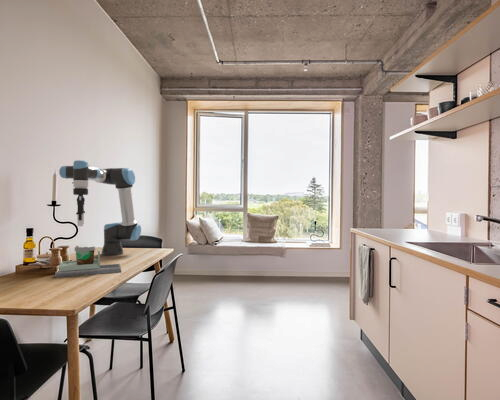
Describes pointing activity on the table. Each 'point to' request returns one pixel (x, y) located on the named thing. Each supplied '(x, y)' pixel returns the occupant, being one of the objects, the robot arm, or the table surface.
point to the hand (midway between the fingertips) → (80, 225)
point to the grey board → (90, 271)
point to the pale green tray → (73, 265)
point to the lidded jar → (43, 257)
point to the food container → (84, 255)
